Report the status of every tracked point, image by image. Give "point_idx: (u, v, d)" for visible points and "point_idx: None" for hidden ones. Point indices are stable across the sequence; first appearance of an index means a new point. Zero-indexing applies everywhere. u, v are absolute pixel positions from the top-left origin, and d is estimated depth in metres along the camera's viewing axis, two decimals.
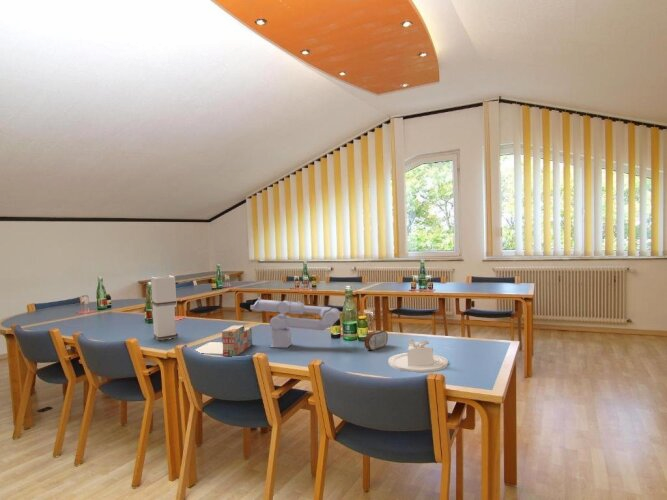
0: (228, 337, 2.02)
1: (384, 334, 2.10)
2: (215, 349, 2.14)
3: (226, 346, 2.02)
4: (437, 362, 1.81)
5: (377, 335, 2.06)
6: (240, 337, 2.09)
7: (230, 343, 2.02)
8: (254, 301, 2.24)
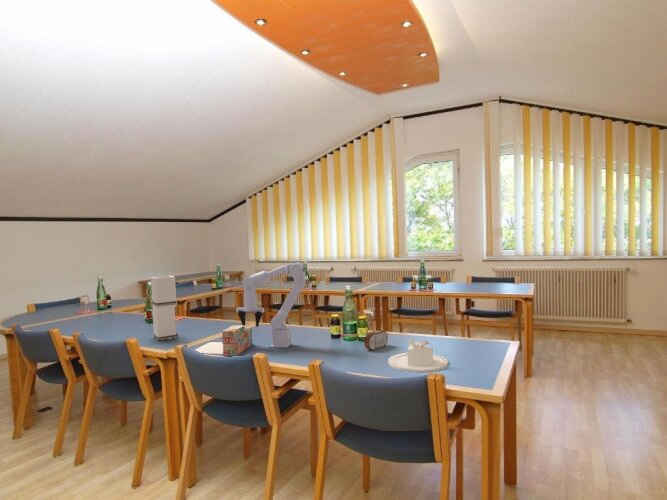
0: (228, 337, 2.02)
1: (384, 334, 2.10)
2: (215, 349, 2.14)
3: (227, 346, 2.03)
4: (437, 362, 1.81)
5: (377, 335, 2.06)
6: (241, 337, 2.09)
7: (230, 343, 2.02)
8: (243, 316, 2.19)
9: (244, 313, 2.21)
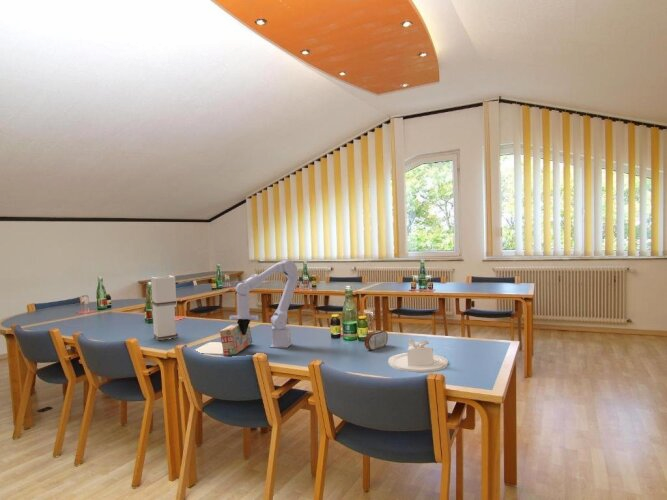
0: (227, 336, 2.03)
1: (384, 334, 2.10)
2: (215, 349, 2.14)
3: (226, 345, 2.03)
4: (437, 362, 1.81)
5: (377, 335, 2.06)
6: (239, 335, 2.10)
7: (229, 341, 2.03)
8: None
9: None
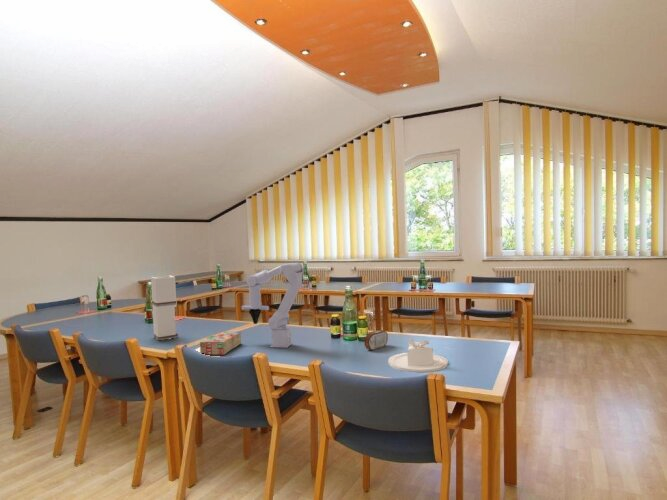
0: (205, 347, 2.05)
1: (384, 334, 2.10)
2: None
3: (214, 350, 2.05)
4: (437, 362, 1.81)
5: (377, 335, 2.06)
6: (216, 338, 2.12)
7: (211, 346, 2.05)
8: None
9: None
